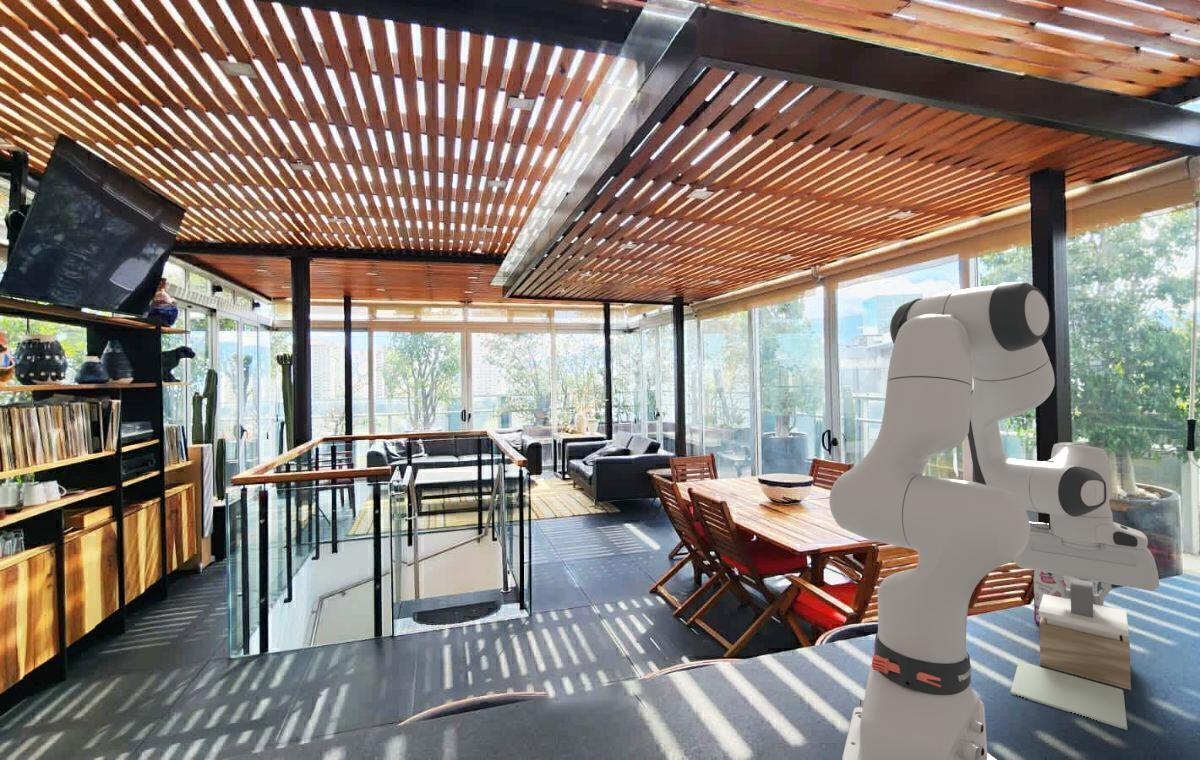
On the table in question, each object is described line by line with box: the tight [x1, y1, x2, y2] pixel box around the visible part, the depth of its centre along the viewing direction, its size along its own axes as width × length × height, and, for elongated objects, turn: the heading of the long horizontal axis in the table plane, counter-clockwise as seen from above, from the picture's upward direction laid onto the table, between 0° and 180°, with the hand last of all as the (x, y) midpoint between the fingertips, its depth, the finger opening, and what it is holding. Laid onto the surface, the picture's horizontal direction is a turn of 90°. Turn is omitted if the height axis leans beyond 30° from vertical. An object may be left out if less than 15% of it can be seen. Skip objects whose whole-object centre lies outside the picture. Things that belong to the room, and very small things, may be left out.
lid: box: [1038, 579, 1130, 640], centre depth 99 cm, size 12×12×8 cm
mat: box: [1010, 660, 1128, 731], centre depth 89 cm, size 14×14×1 cm
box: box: [1038, 617, 1132, 691], centre depth 99 cm, size 12×12×8 cm
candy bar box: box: [1032, 570, 1100, 624], centre depth 112 cm, size 11×5×16 cm, turn 179°
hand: (1082, 601), depth 99 cm, fingers closed on lid, 3 cm apart
